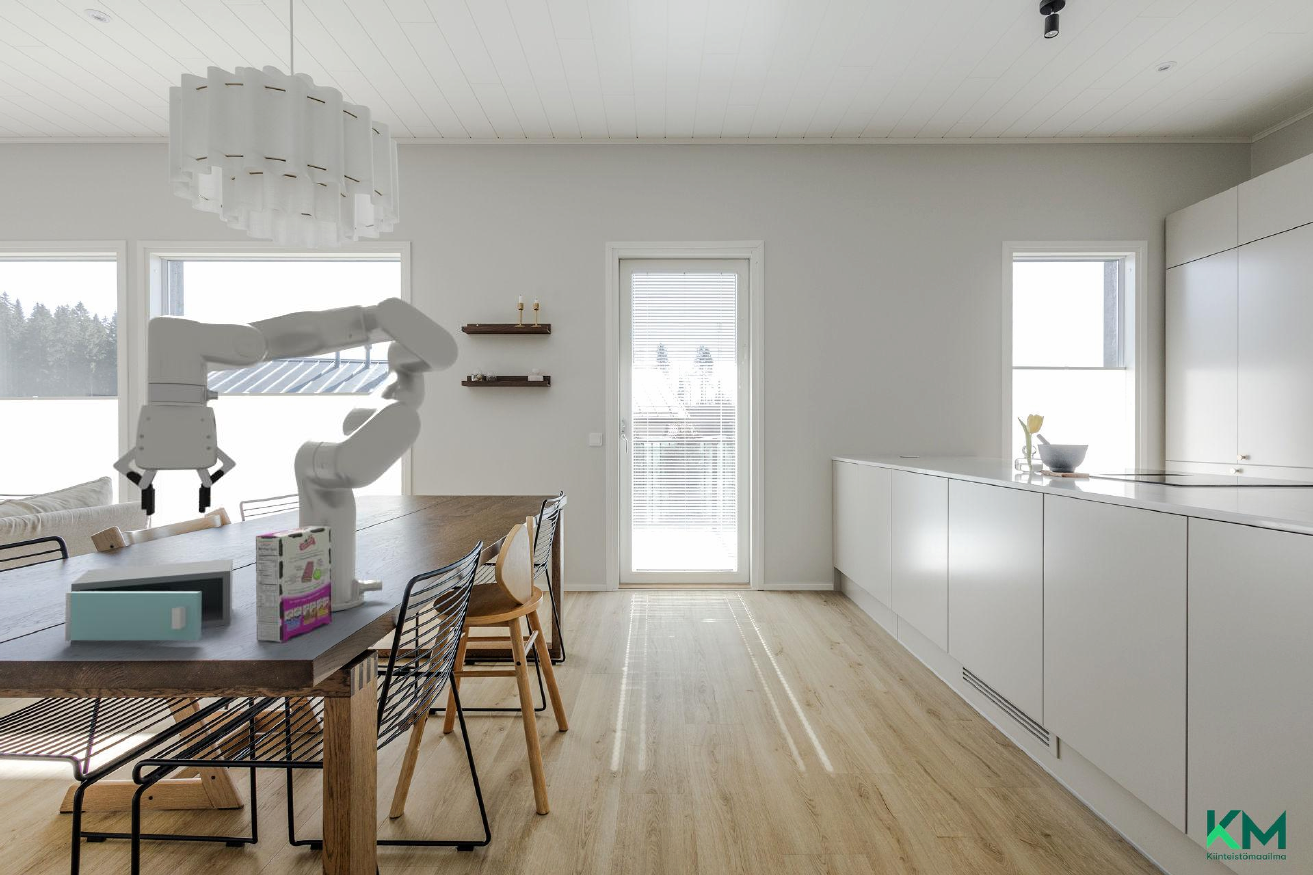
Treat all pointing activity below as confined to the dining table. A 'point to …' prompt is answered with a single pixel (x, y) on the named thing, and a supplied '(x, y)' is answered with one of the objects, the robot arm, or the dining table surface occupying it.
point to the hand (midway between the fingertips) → (176, 512)
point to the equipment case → (171, 585)
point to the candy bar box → (293, 582)
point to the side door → (133, 615)
